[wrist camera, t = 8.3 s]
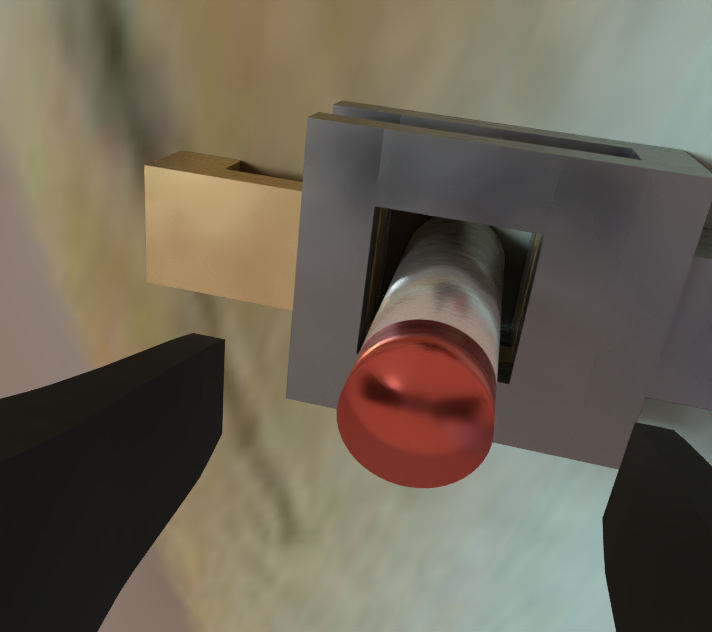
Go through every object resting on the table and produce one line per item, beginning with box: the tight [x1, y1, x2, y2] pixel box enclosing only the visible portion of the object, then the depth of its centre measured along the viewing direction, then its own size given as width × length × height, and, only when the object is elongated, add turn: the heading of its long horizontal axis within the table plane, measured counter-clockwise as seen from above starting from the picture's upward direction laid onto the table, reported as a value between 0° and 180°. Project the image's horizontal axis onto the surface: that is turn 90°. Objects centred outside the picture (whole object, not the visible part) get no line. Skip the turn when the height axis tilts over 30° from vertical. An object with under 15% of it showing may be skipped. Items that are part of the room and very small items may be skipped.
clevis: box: [145, 101, 712, 469], centre depth 19 cm, size 17×8×4 cm, turn 83°
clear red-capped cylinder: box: [337, 217, 505, 488], centre depth 17 cm, size 3×3×9 cm
